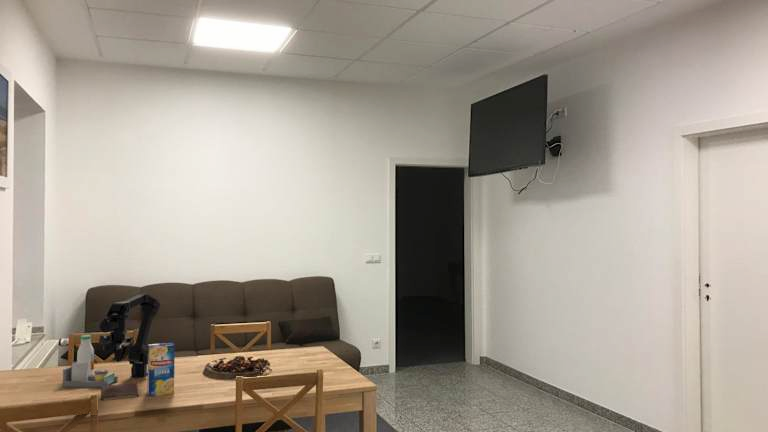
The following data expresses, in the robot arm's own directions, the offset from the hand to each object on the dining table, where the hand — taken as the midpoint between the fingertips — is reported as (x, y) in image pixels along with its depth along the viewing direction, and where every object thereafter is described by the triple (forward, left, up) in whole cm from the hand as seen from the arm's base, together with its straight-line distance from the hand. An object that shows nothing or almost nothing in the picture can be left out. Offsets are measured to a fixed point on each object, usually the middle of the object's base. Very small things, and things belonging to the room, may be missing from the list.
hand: (118, 361), depth 285 cm
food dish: (-49, -29, -12) cm, 58 cm away
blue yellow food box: (-26, +13, -11) cm, 31 cm away
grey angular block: (+19, 0, -11) cm, 22 cm away
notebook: (-7, +13, -12) cm, 19 cm away
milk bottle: (+25, -16, -11) cm, 32 cm away
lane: (+13, 0, -11) cm, 17 cm away
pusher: (+4, 0, -11) cm, 12 cm away
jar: (+8, 0, -11) cm, 14 cm away
